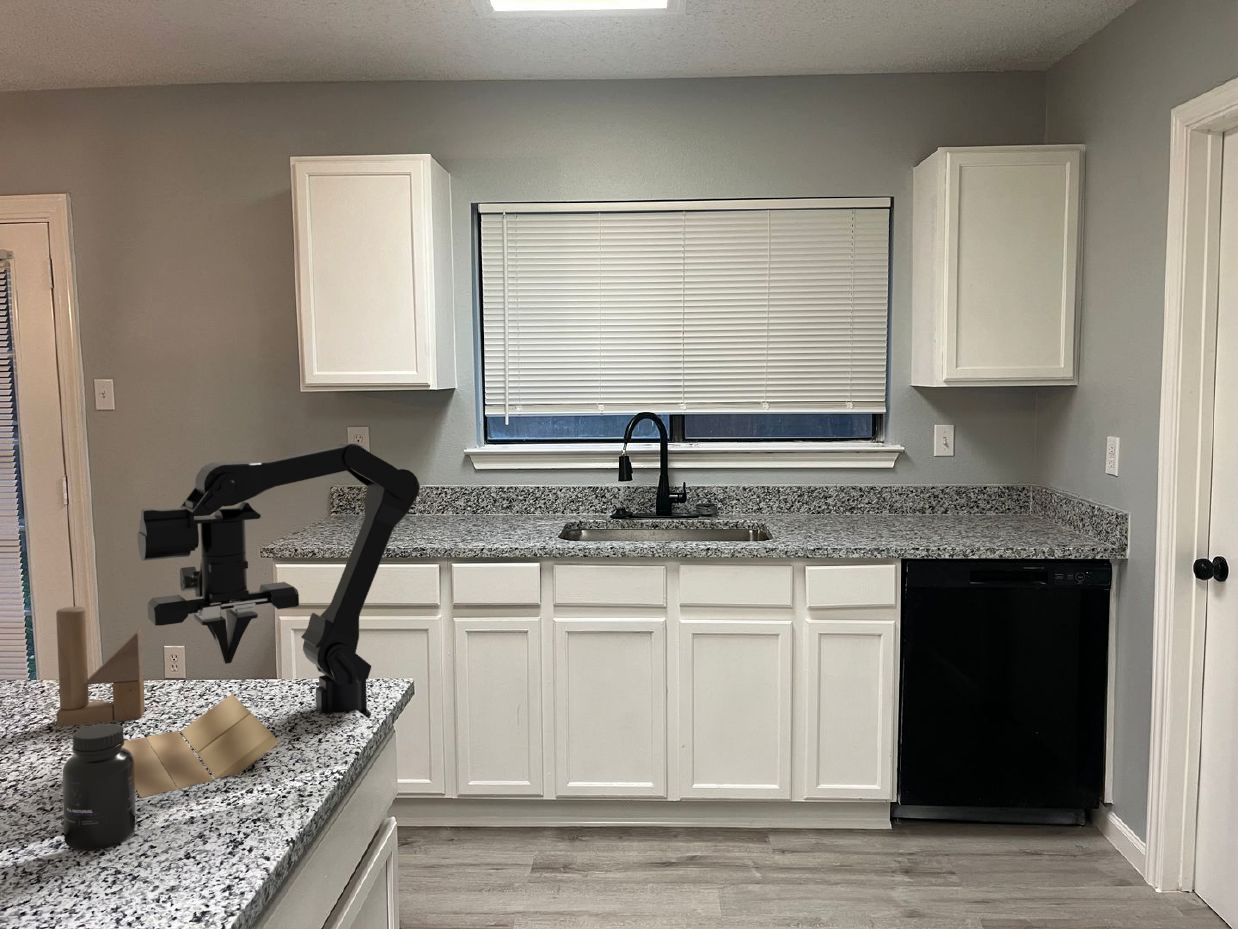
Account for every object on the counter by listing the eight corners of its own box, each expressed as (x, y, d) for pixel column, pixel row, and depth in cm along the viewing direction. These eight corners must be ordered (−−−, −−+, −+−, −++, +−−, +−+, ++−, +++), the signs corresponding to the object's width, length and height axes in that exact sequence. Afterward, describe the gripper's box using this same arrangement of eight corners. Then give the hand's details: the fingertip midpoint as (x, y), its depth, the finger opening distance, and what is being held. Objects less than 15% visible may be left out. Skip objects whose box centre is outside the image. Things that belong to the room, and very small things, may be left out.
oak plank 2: (257, 721, 122) (251, 713, 121) (278, 742, 114) (272, 733, 114) (203, 762, 118) (197, 753, 117) (222, 786, 110) (215, 778, 110)
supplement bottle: (61, 858, 93) (57, 747, 92) (67, 830, 99) (63, 725, 98) (136, 843, 96) (132, 736, 96) (137, 817, 103) (133, 715, 102)
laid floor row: (177, 741, 125) (177, 730, 125) (214, 792, 109) (214, 780, 109) (113, 754, 121) (112, 743, 120) (141, 810, 104) (140, 797, 104)
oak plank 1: (237, 701, 130) (231, 693, 129) (256, 720, 122) (250, 712, 122) (186, 739, 126) (180, 731, 125) (202, 760, 118) (196, 752, 118)
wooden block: (141, 728, 130) (137, 607, 129) (56, 737, 127) (51, 612, 125) (145, 720, 134) (141, 601, 132) (63, 728, 130) (58, 607, 129)
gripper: (275, 539, 136) (277, 639, 137) (138, 552, 125) (142, 661, 126) (298, 549, 127) (301, 656, 128) (153, 563, 116) (158, 681, 117)
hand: (227, 663), depth 125 cm, fingers closed
